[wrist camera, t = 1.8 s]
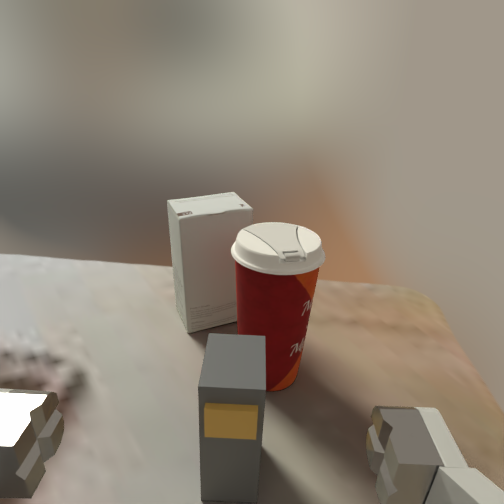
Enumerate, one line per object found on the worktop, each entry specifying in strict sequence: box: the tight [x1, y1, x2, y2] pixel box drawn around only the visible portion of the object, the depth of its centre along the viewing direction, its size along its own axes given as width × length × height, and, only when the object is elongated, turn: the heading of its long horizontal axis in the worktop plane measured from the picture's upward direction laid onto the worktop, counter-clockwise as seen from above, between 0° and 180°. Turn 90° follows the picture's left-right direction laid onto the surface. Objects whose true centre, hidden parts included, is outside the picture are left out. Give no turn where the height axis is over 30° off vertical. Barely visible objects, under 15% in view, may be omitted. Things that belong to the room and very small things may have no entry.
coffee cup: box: [231, 222, 325, 391], centre depth 36 cm, size 8×8×15 cm
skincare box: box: [167, 192, 253, 333], centre depth 44 cm, size 8×6×15 cm
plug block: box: [198, 333, 266, 503], centre depth 27 cm, size 4×6×11 cm
